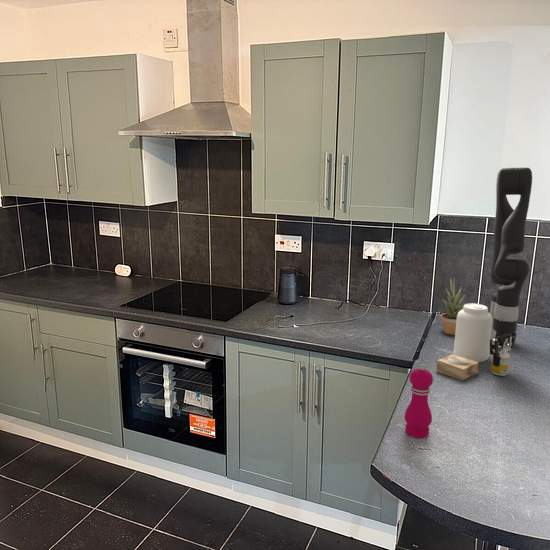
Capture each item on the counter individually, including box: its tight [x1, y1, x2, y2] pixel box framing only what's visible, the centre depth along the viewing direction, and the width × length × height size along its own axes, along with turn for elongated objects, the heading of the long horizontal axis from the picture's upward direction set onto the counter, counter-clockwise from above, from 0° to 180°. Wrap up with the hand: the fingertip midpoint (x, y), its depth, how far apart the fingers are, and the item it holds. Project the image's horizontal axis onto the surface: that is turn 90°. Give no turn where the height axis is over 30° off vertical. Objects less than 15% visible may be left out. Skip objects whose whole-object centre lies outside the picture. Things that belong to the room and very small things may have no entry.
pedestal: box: [436, 353, 480, 381], centre depth 181 cm, size 10×10×4 cm
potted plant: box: [440, 277, 466, 336], centre depth 220 cm, size 10×10×25 cm
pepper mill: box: [404, 363, 434, 439], centre depth 140 cm, size 7×7×20 cm
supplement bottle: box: [490, 345, 511, 377], centre depth 179 cm, size 5×5×10 cm
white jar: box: [452, 302, 492, 363], centre depth 194 cm, size 12×12×20 cm
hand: (500, 363), depth 180 cm, fingers closed on supplement bottle, 5 cm apart
